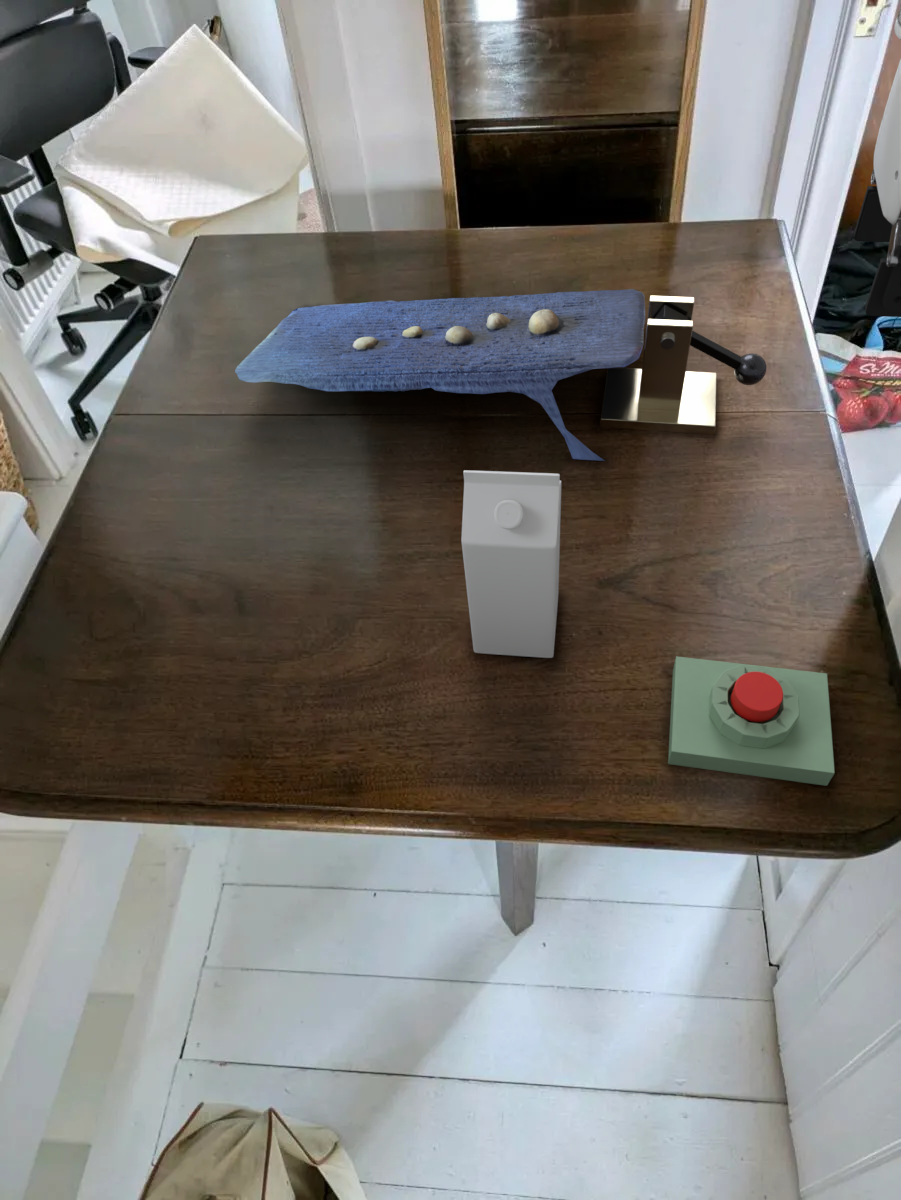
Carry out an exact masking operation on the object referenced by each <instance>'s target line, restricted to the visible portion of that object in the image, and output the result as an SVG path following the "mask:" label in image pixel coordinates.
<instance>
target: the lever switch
mask: <svg viewBox="0 0 901 1200" xmlns="http://www.w3.org/2000/svg"><path fill="white" fill-rule="evenodd" d="M654 319H664V320H688V317H686V316H685V315H683V314H681V313H679V312H677V311H675V310H674V309H672V308H670V307H668V306H666V305H664V307H663V308H662V309H661V310H660V312H659V313H658V314H657V316H656V317H655V318H654ZM690 347H693V348H694V349H696V350H697V351H700V352H701V353H703V354H705V355H707V356H709V357H711V358H713V359H714V360H717V361H718V362H720V363H722V364H724V365H726V366H728V367H730V368H731V369H733V374H734V375H733V376H734V377H735V380H736V381H737V382H738V383H739V384H741V385H744V386H753V385H756V384H758V383H760V382H761V381H763V379H764V378H765V376H766V373H767V362H766V360H765V359H764V358H763V357H762V356H761V355H760V354H757V353H753V352H752V353H746V354H744V355H742V356H741V355H739V354H737V353H735V352H733V351H731V350H730V349H728V348H726V347H724V346H722V345H720V344H719V343H717V342H715V341H714V340H711V339H709V338H707V337H705V336H703V335H702V334H700V333H698V332H696V331H695V330H692V336H691V342H690Z"/></svg>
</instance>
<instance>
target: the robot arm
mask: <svg viewBox="0 0 901 1200" xmlns="http://www.w3.org/2000/svg"><path fill="white" fill-rule="evenodd" d="M893 31H894V35H895V36H896V37H897V39H898V40H900V41H901V4H900V7H899V9H898V13H897V17H896V19H895V23H894V26H893ZM870 184H871V185H867V187H866V190H865V191H866V192H865V193H864V197H863V200H862V205H861V208H860V211H859V214H858V218H857V223H856V225H855V229H854V231H853V238H854V240H855V242H859V243H860V242H863V243H865V242H866V243H868V242H869V243H888V247H887V248H888V249H887V254H886V258H880V260H879V263H878V266H877V269H876V272H875V275H874V278H873V281H872V285H871V286H870V287H871V288H870V290H869V294H868V296H867V300H866V302H865V305H864V310H865V314H866V315H867V316H869V317H888V318H889V317H890V318H893V317H894V318H901V58H900V59H899V62H898V66H897V70H896V71H895V75H894V78H893V81H892V84H891V88H890V91H889V94H888V98H887V101H886V104H885V107H884V111H883V115H882V118H881V121H880V125H879V130H878V134H877V138H876V142H875V146H874V151H873V169H872V172H871V177H870Z"/></svg>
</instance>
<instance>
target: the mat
mask: <svg viewBox="0 0 901 1200" xmlns="http://www.w3.org/2000/svg"><path fill="white" fill-rule="evenodd" d="M645 299H646V298H645V294H644V293H643V292H642V291H640V290H637V289H634V288H630V289H629V288H628V289H613V290H612V289H604V290H603V289H602V290H588V291H587V290H585V291H584V290H583V291H557V292H549V293H534V294H514V295H510V296H508V295H501V296H483V297H482V296H479V297H478V296H475V297H451V298H450V297H449V298H435V299H415V300H414V299H413V300H401V301H395V300H391V299H390V300H385V301H368V302H367V301H366V302H355V303H336V304H322V305H313V306H305V307H297V308H295V309H293V310H292V311H291V312H290V313H289V315H288V316H286V317H285V318H283V319H282V320H281V321H280V322H279V323H278V324H277V326H276V327H275V328H274V329H272V331H271V332H270V333H268V335H267V336H266V338H264V339H263V340H262V341H261V342H259V344H258V345H257V346H255V348H254V349H253V350H252V351H251V352H250V353H249V354H248V355H247V356H246V357H245V358H244V359H242V360H241V362H240V363H239V364H238V365H237V366H236V368H235V370H234V373H235V374H236V375H237V378H238V380H239V381H242V382H246V383H255V384H256V383H267V382H270V383H278V384H287V385H288V384H289V385H297V386H302V387H304V388H307V389H312V390H319V391H323V392H382V393H384V392H395V393H396V392H405V391H416V390H424V389H433V390H434V391H436V392H446V393H454V394H473V395H474V394H475V395H486V394H495V393H507V392H509V393H516V394H523V395H525V396H527V397H528V398H530V399H531V400H533V401H535V402H537V403H538V404H540V405H541V407H542V408H543V409H544V411H545V412H546V414H547V415H548V417H549V418H550V420H551V421H552V422H553V424H554V425H555V427H556V428H557V429H558V431H559V432H560V434H561V435H562V436H563V438H564V440H565V443H566V446H567V448H568V450H569V453H570V456H571V458H572V459H573V460H582V461H597V462H598V461H600V462H601V461H602V462H605V461H606V460H605V459H603V458H602V457H600V456H599V455H598V454H596V453H595V452H593V451H592V450H591V449H589V447H588V446H586V445H585V444H584V443H583V442H582V441H580V440H579V439H578V438H577V437H576V436H575V435H573V434H572V433H571V432H570V431H568V430H567V428H566V426H565V423H564V421H563V418H562V415H561V413H560V410H559V406H558V405H557V401H556V399H555V396H554V394H553V391H552V390H553V389H554V387H555V386H556V384H557V383H558V381H560V380H563V379H567V378H570V377H573V376H575V375H578V374H582V373H585V372H588V371H591V370H597V369H598V370H599V369H608V368H615V367H616V368H627V367H628V366H630V365H631V364H632V363H634V362H636V361H637V360H639V359H640V356H641V354H642V350H643V349H644V348H643V347H644V338H645V337H644V333H645V332H644V329H645V323H646V300H645Z"/></svg>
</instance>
